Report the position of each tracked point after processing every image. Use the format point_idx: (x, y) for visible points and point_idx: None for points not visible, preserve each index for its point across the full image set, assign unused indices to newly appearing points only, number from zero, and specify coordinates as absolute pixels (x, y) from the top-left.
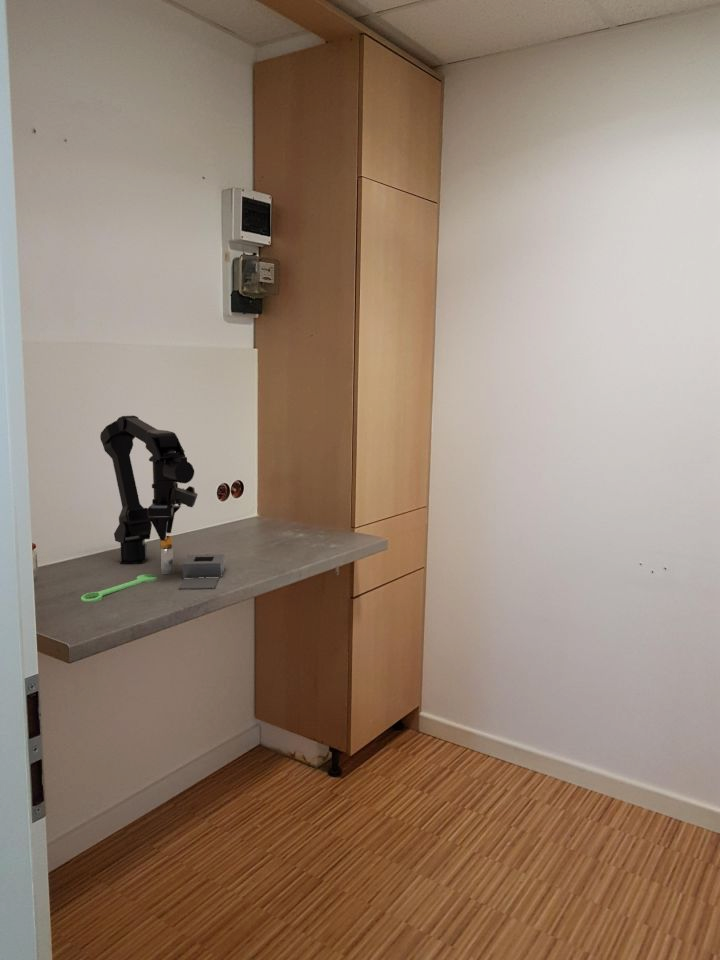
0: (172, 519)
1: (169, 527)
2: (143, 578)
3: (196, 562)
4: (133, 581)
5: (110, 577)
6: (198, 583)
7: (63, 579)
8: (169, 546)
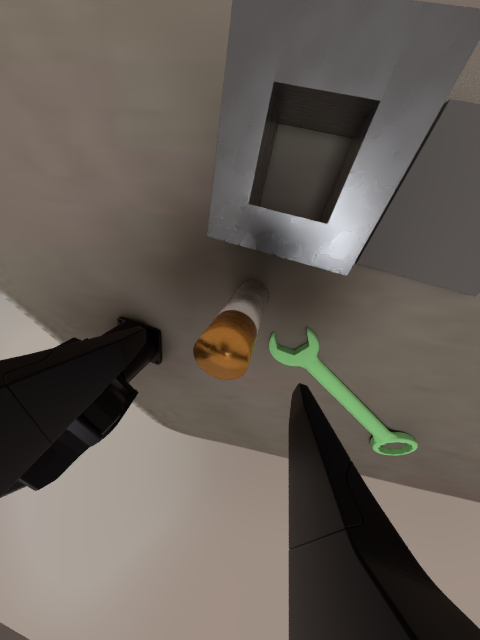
0: (64, 366)
1: (122, 348)
2: (309, 358)
3: (358, 209)
4: (327, 379)
5: (249, 390)
6: (471, 216)
7: (240, 432)
8: (253, 329)
